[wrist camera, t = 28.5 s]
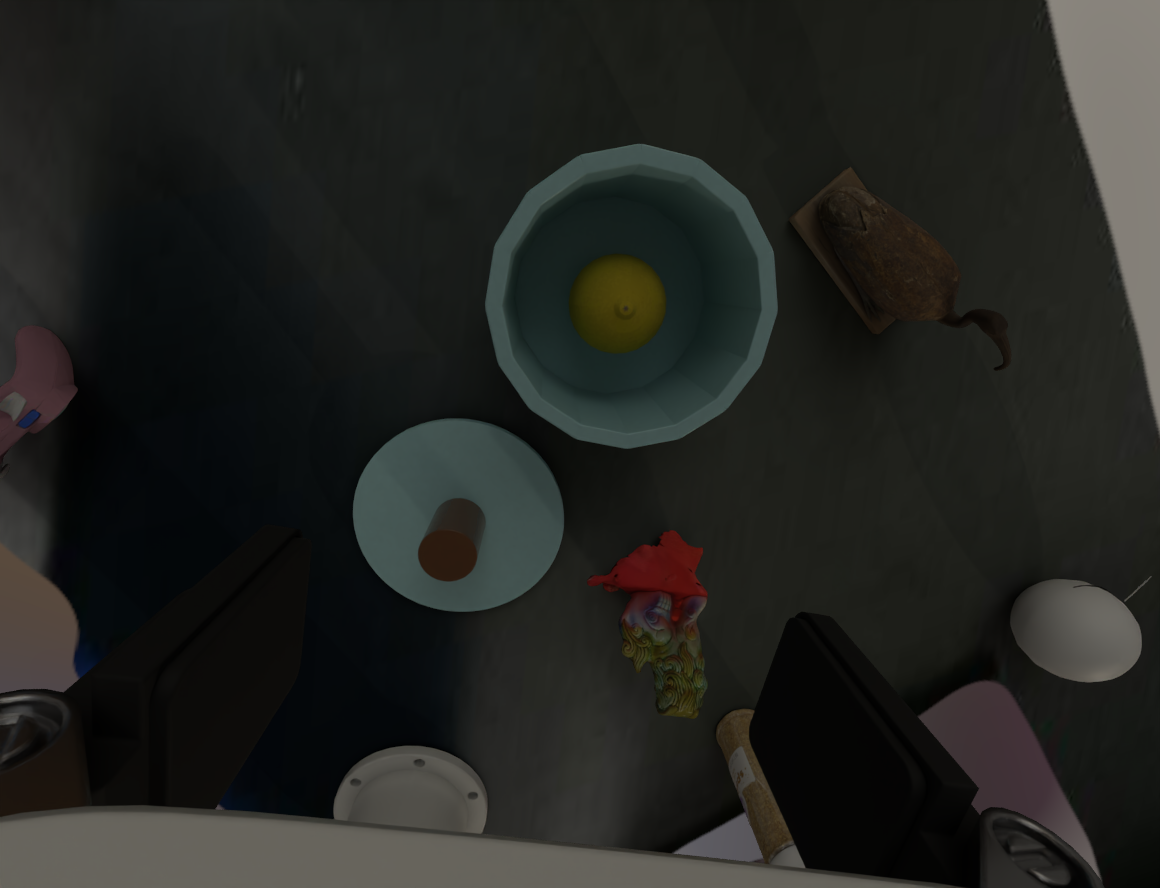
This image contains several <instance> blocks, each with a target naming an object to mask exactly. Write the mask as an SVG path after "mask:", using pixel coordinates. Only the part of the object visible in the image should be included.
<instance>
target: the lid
mask: <svg viewBox="0 0 1160 888" xmlns="http://www.w3.org/2000/svg"><path fill="white" fill-rule="evenodd" d="M353 521H354V529H355V533H356V537H357V541H358V543H359V546H360V548H361V550H362V553H363V554H364V556H365V558H366V560H367V561H368V563H369V565H370V566H371V567H372V568H373V570H374V571H375V572H376V574H377V575H378V576H379V577H380V578H381V579H382V580H383V581H384V582H385V583H386V584H388V585H389V586H390V587H391V588H393V589H394V590H395V591H397V592H398V593H400V594H402V595H403V596H405V597H406V598H408V599H410V600H413V601H415V602H417V603H419V604H422V605H425V606H428V607H431V608H435V609H440V610H445V611H456V612H468V611H478V610H485V609H489V608H493V607H497V606H499V605H502V604H504V603H507V602H509V601H511V600H513V599H515V598H517V597H519V596H520V595H522V594H523V593H525V592H526V591H528V590H529V589H530V588H531V587H532V586H534V585H535V584H536V583H537V582H538V581H539V580H540V579H541V578H542V576H543V575H544V574H545V573H546V572H547V570H548V569H549V567H550V566H551V564H552V563H553V561H554V559H555V557H556V555H557V552H558V550H559V547H560V544H561V540H562V536H563V529H564V509H563V501H562V496H561V493H560V489H559V486H558V484H557V482H556V479H555V477H554V475H553V473H552V472H551V470H550V468H549V467H548V465H547V464H546V462H545V461H544V460H543V459H542V457H541V456H540V455H539V454H538V453H537V452H536V451H535V450H534V449H533V448H532V447H531V446H530V445H529V444H528V443H526V442H525V441H523V440H522V439H521V438H519V437H518V436H516V435H514V434H513V433H511V432H509V431H507V430H505V429H503V428H501V427H498V426H495V425H493V424H490V423H486V422H482V421H478V420H471V419H453V418H449V419H441V420H434V421H430V422H426V423H422V424H419V425H417V426H414V427H412V428H409V429H407V430H405V431H404V432H402V433H400V434H398V435H397V436H395V437H394V438H393V439H391V440H390V441H389V442H387V443H386V444H385V445H384V446H383V447H382V448H381V449H380V450H379V451H378V452H377V453H376V454H375V455H374V456H373V458H372V459H371V460H370V462H369V463H368V464H367V466H366V467H365V469H364V471H363V473H362V475H361V477H360V479H359V482H358V485H357V488H356V491H355V497H354V502H353Z"/></svg>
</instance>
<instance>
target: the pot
mask: <svg viewBox="0 0 1160 888" xmlns="http://www.w3.org/2000/svg"><path fill="white" fill-rule="evenodd" d="M610 254H627V255H631V256H634V257H636V258H639V259H641V260H643V261H644V262H645V263H647V264H648V265H649V266H651V267H652V268H653V270H654V271H655V272H656V273H657V275H658V276H659V277H660V280H661V282H662V284H663V286H664V289H665V295H666V314H665V317H664V320H663V323H662V325H661V327H660V329H659V330H658V332H657V333H656V335H655V336H654V337H653V338H652V339H651V340H650V341H649V342H648V343H647V344H645V345H644V346H642V347H640V348H639V349H637V350H634V351H631V352H627V353H618V354H612V353H607V352H603V351H600V350H598V349H596V348H594V347H592V346H590V345H589V344H588V343H587V342H585V341H584V340H583V339H582V338H581V337H580V336H579V334H578V333H577V331H576V330H575V328H574V326H573V323H572V321H571V318H570V313H569V296H570V290H571V288H572V285H573V283H574V280H575V278H576V277H577V276H578V274H579V273H580V272H581V270H582V269H583V268H584V267H585V266H587V265H588V264H589V263H590V262H592V261H593V260H595V259H597V258H600V257H602V256H604V255H610ZM777 309H778V307H777V292H776V278H775V264H774V252H773V249H772V247H771V245H770V243H769V241H768V239H767V237H766V235H765V233H764V231H763V229H762V227H761V225H760V223H759V221H758V219H757V217H756V215H755V213H754V211H753V209H752V207H751V205H750V203H749V201H748V199H747V198H746V196H745V195H743V194H742V193H741V192H740V191H739V190H737V189H736V188H735V187H734V186H732V185H731V184H730V183H729V182H728V181H726V180H725V179H724V178H723V177H722V176H720V175H719V174H718V173H717V172H716V171H714V170H713V169H712V168H711V167H710V166H708V165H707V164H706V163H705V162H703V161H702V160H699V158H695V157H691V156H688V155H684V154H680V153H676V152H672V151H668V150H664V149H661V148H657V147H653V146H649V145H645V144H641V145H640V144H635V145H629V146H624V147H619V148H614V149H608V150H603V151H598V152H592V153H587V154H582V155H580V156H577V157H576V158H574V159H573V160H572V161H570V162H569V163H567V164H566V165H564V166H563V167H562V168H560V169H559V170H557V171H556V172H555V173H553V174H552V175H550V176H549V177H547V178H546V179H545V180H543V181H542V182H540V183H539V184H538V185H536V186H535V187H533V188H532V189H530V190H529V192H527V193H526V195H525V196H524V198H523V200H522V201H521V203H520V204H519V206H518V208H517V209H516V211H515V213H514V214H513V216H512V217H511V219H510V221H509V222H508V224H507V226H506V227H505V229H504V230H503V232H502V234H501V235H500V237H499V239H498V240H497V242H496V243H495V246H494V251H493V257H492V263H491V269H490V275H489V282H488V288H487V294H486V300H485V310H486V314H487V319H488V323H489V328H490V332H491V336H492V341H493V345H494V350H495V354H496V358H497V362H498V365H499V366H500V368H501V369H502V371H503V372H504V373H505V375H506V376H507V378H508V379H509V381H510V382H511V383H512V385H513V386H514V388H515V389H516V391H517V392H518V393H519V395H520V396H521V398H522V399H523V401H524V402H525V404H526V405H527V406H528V408H529V409H531V411H533V412H534V413H536V414H537V415H539V416H541V417H542V418H544V419H545V420H547V421H548V422H550V423H551V424H553V425H554V426H556V427H558V428H559V429H561V430H562V431H564V432H565V433H567V434H568V435H570V436H571V437H573V438H575V439H577V440H582V441H588V442H593V443H598V444H603V445H609V446H614V447H619V448H624V449H627V448H628V449H630V448H635V447H640V446H646V445H651V444H656V443H661V442H667V441H672V440H677V439H679V438H682V437H684V436H685V435H687V434H688V433H690V432H692V431H693V430H695V429H697V428H698V427H700V426H701V425H703V424H705V423H706V422H708V421H709V420H711V419H713V418H714V417H716V416H717V415H719V414H721V413H722V412H724V411H725V409H727V408H728V407H729V406H730V404H731V403H732V402H733V401H734V399H735V398H736V397H737V395H738V394H739V393H740V392H741V390H742V389H743V388H744V386H745V385H746V384H747V382H748V381H749V380H750V379H751V377H752V376H753V375H754V373H755V372H756V371H757V369H758V368H759V367H760V365H761V363H762V360H763V357H764V354H765V350H766V347H767V344H768V341H769V337H770V334H771V331H772V328H773V324H774V321H775V318H776V315H777Z"/></svg>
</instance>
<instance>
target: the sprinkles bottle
mask: <svg viewBox="0 0 1160 888" xmlns="http://www.w3.org/2000/svg"><path fill="white" fill-rule="evenodd" d="M753 714H754V710H751V709H739V710H735V711H732V712H730V713H729V714H727V715H726V716H725V717H724V718H723V719H722V720H721V721H720V722H719V724H718V726H717V729H716V739H717V741H718V744H719V745H720V746H721V748H722V750H723V753H724V756H725V759H726V761H727V764H728V766H729V771H730V774H731V776H732V779H733V782H734V784H735V787H736V789H737V792H738V794H739V797H740V800H741V802H742V805H743V807H744V810H745V813H746V815H747V818H748V821H749V824H750V826H751V827H752V829H753V832H754V835H755V837H756V840H757V843H758V845H759V848H760V850H761V853H762V855H763V858H764V861H765V864H772V865H781V866H790V867H799V868H805V866H804V864H803V861H802V859H801V857H800V855H799V852H798V850H797V848H796V846H795V843H794V841H793V839H792V837H791V834H790V832H789V830H788V828H787V825H786V823H785V821H784V819H783V816H782V814H781V812H780V810H779V807H778V805H777V803H776V801H775V798H774V796H773V794H772V792H771V790H770V787H769V785H768V783H767V781H766V778H765V776H764V774H763V772H762V769H761V767H760V765H759V763H758V760H757V758H756V756H755V754H754V751H753V749H752V747H751V744H750V740H749V726H750V722H751V719H752V717H753Z"/></svg>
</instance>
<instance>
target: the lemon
mask: <svg viewBox="0 0 1160 888" xmlns="http://www.w3.org/2000/svg"><path fill="white" fill-rule="evenodd" d="M569 313H570V318H571V321H572V323H573V326H574V328H575V330H576V331H577V333H578V334H579V336H580V337H581V338H582V339H583V340H584V341H585V342H587V343H588V344H589V345H590V346H592V347H594V348H596V349H598V350H600V351H603V352H607V353H612V354H618V353H627V352H631V351H634V350H637V349H639V348H640V347H642V346H644V345H645V344H647V343H648V342H649V341H650V340H651V339H652V338H653V337H654V336H655V335H656V333H657V332H658V330H659V329H660V327H661V325H662V323H663V320H664V317H665V314H666V295H665V289H664V286H663V284H662V282H661V280H660V277H659V276H658V275H657V273H656V272H655V271H654V270H653V268H652V267H651V266H649V265H648V264H647V263H645V262H644V261H643V260H641V259H639V258H636V257H634V256H631V255H627V254H610V255H604V256H602V257H600V258H597V259H595V260H593V261H592V262H590V263H589V264H588V265H587V266H585V267H584V268H583V269H582V270H581V272H580V273H579V274H578V276H577V277H576V278H575V280H574V283H573V285H572V288H571V290H570V296H569Z"/></svg>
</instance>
